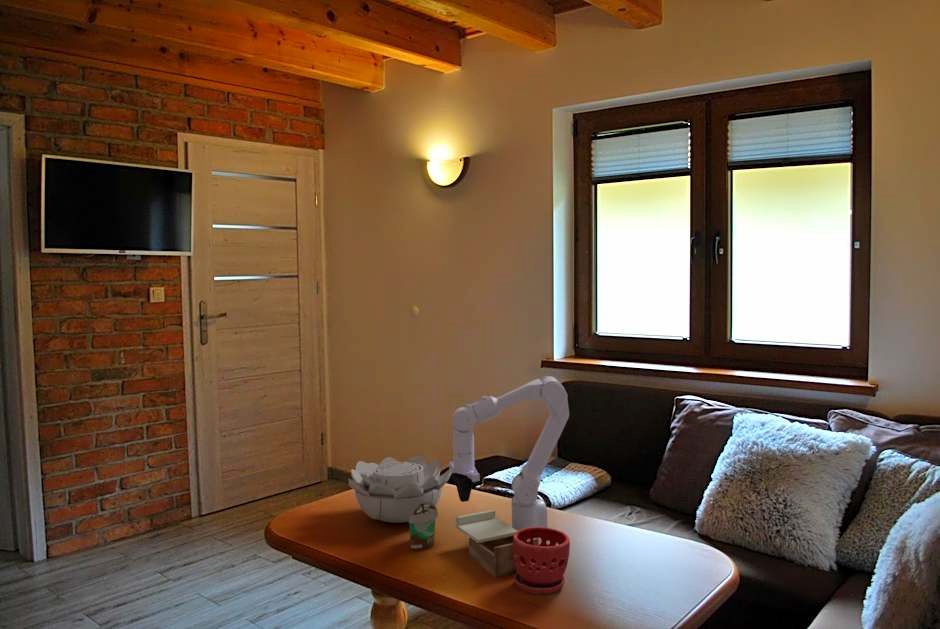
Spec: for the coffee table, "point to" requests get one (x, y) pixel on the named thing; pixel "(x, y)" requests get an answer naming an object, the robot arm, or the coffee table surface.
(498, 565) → the box
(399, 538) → the coffee table surface
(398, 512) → the decorative bowl
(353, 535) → the coffee table surface
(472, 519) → the lid
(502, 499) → the coffee table surface
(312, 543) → the coffee table surface
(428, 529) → the food container
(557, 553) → the plant pot
